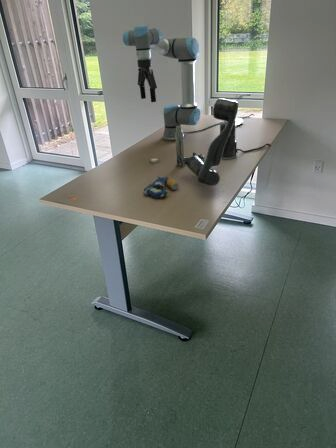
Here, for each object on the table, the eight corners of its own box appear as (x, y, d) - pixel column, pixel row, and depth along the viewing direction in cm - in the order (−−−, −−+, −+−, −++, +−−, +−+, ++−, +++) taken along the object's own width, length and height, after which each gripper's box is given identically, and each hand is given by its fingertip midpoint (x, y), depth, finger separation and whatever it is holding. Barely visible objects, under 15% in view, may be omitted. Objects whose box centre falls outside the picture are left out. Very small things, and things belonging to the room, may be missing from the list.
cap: (150, 162, 209) (149, 159, 208) (154, 160, 212) (154, 157, 211) (154, 163, 207) (154, 161, 206) (159, 161, 209) (159, 159, 209)
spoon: (236, 135, 246) (236, 133, 245) (221, 135, 249) (221, 132, 248) (244, 120, 272) (244, 117, 271) (231, 120, 276) (231, 117, 274)
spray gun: (184, 183, 177) (159, 180, 184) (183, 176, 175) (158, 173, 182) (167, 201, 162) (140, 197, 168) (166, 193, 160) (139, 190, 166)
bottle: (183, 163, 202) (181, 125, 190) (185, 166, 199) (183, 126, 187) (176, 164, 202) (173, 126, 190) (178, 167, 198) (175, 127, 186)
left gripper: (128, 58, 187) (133, 98, 198) (147, 60, 168) (151, 104, 179) (141, 57, 190) (145, 96, 201) (160, 59, 171) (164, 102, 182)
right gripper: (209, 156, 173) (197, 146, 186) (183, 161, 170) (173, 151, 183) (209, 169, 177) (198, 159, 190) (183, 174, 174) (174, 164, 187)
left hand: (148, 100), depth 190 cm, fingers open, 13 cm apart
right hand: (186, 155), depth 187 cm, fingers open, 8 cm apart
